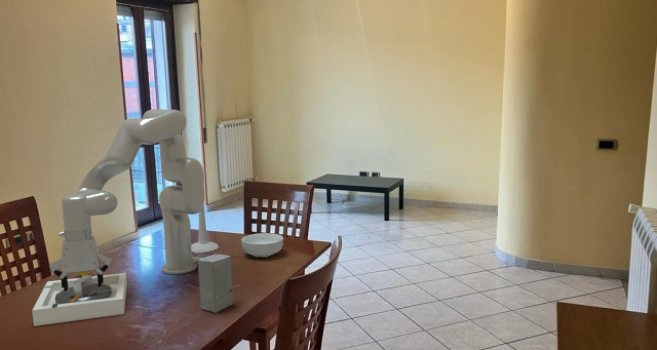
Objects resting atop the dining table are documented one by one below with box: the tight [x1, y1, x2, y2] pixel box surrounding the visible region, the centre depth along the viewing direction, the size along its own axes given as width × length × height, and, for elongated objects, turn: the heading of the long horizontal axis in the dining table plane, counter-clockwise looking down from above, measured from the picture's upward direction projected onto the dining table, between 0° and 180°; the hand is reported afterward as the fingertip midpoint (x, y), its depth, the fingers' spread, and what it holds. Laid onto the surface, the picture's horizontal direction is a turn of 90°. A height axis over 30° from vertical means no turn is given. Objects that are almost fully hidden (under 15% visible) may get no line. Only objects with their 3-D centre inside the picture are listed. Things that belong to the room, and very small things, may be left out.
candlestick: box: [191, 205, 220, 254], centre depth 218 cm, size 13×13×30 cm
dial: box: [55, 274, 112, 304], centre depth 163 cm, size 16×16×6 cm
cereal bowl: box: [240, 232, 284, 258], centre depth 211 cm, size 17×17×7 cm
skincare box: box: [197, 253, 234, 314], centre depth 160 cm, size 8×7×16 cm
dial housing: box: [31, 272, 128, 327], centre depth 163 cm, size 24×24×5 cm
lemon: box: [76, 271, 91, 277], centre depth 187 cm, size 6×6×8 cm
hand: (83, 287), depth 163 cm, fingers open, 9 cm apart
